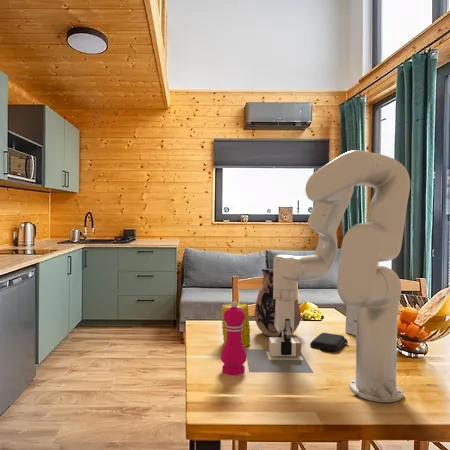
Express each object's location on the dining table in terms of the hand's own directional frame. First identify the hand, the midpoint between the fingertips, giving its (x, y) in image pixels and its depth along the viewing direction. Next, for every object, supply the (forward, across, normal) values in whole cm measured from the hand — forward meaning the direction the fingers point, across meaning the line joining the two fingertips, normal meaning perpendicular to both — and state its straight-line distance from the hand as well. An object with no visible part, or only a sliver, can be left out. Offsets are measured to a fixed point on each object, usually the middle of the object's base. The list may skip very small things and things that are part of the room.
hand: (284, 350), depth 122 cm
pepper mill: (+2, +13, -16) cm, 21 cm away
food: (+2, -12, -15) cm, 19 cm away
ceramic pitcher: (+2, -27, +2) cm, 27 cm away
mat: (+2, +4, -3) cm, 5 cm away
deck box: (+1, 0, 0) cm, 1 cm away
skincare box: (+2, -28, +32) cm, 43 cm away
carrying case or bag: (+3, -13, +18) cm, 22 cm away
